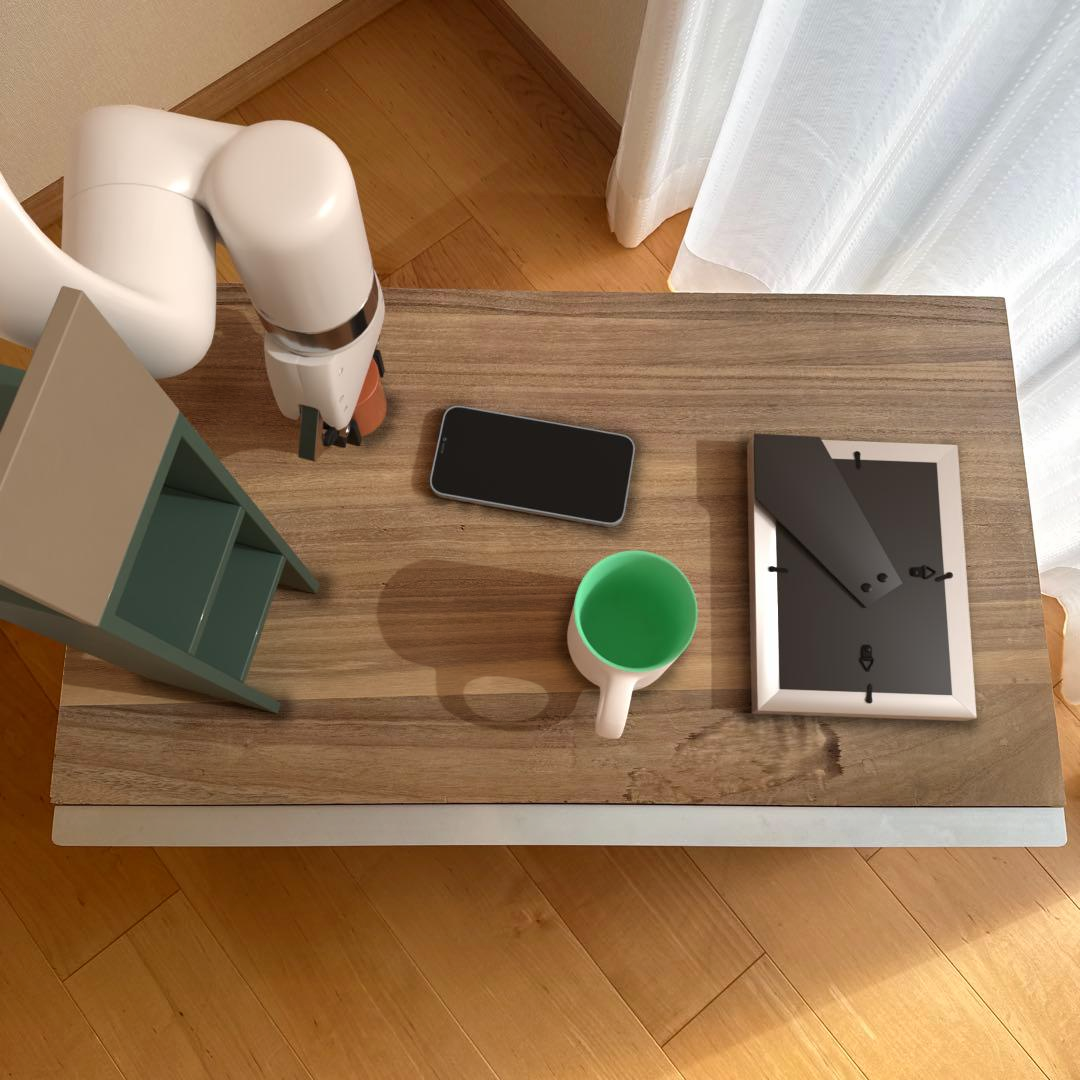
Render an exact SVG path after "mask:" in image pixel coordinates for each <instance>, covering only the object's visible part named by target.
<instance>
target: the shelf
mask: <svg viewBox="0 0 1080 1080" xmlns="http://www.w3.org/2000/svg"><path fill="white" fill-rule="evenodd" d="M27 365H28V366H27V368H26V369H22V368H18V367H14V366H10V365H6V364H2V363H0V619H1V620H4V621H6V622H9V623H11V624H13V625H16V626H18V627H21V628H23V629H26V630H29V631H31V632H32V633H36V634H38V635H40V636H43V637H46V638H48V639H50V640H53V641H55V642H58V643H60V644H63V645H64V646H67V647H69V648H72V649H75V650H77V651H79V652H82V653H83V654H87V655H90V656H92V657H94V658H97V659H99V660H101V661H103V662H107V663H109V664H112V665H114V666H117V667H118V668H121V669H124V670H126V671H129V672H131V673H134V674H136V675H139V676H141V677H143V678H146V679H148V680H152V681H156V682H160V683H163V684H167V685H170V686H174V687H177V688H182V689H185V690H188V691H192V692H196V693H200V694H203V695H208V696H211V697H214V698H218V699H222V700H225V701H229V702H232V703H235V704H240V705H244V706H246V707H247V706H248V707H251V708H254V709H259V710H262V711H265V712H270V713H271V714H272V713H273V714H276V715H277V714H279V711H280V708H281V705H282V703H281V702H280V701H277V700H275V699H274V698H272V697H270V696H268V695H266V694H264V693H262V692H260V691H259V690H257V689H255V688H253V687H252V686H249V685H248V684H245V683H246V680H247V677H248V674H249V671H250V668H251V665H252V662H253V659H254V656H255V653H256V651H257V648H258V645H259V642H260V639H261V635H262V633H263V630H264V627H265V624H266V621H267V618H268V616H269V612H270V609H271V606H272V603H273V600H274V597H275V594H276V591H277V588H278V585H282V586H286V587H289V588H292V589H293V588H294V589H297V590H300V591H304V592H308V593H310V594H311V593H313V594H318V592H319V589H320V586H321V584H320V582H319V581H318V580H317V579H316V578H315V576H314V574H312V572H310V570H309V569H308V568H307V566H306V565H305V564H304V562H302V560H301V559H300V558H299V556H298V555H297V554H296V553H295V552H294V551H293V549H292V548H291V547H290V545H289V544H288V543H287V542H286V540H285V539H284V537H282V535H281V534H280V532H278V531H277V529H276V528H275V527H274V526H273V524H272V523H271V521H269V519H268V517H266V515H265V514H264V513H263V512H262V511H261V509H260V508H259V506H257V505H256V503H255V502H254V501H253V499H252V498H251V497H250V496H249V495H248V493H247V492H246V491H245V490H244V488H243V487H242V486H241V485H240V483H239V482H238V481H237V480H236V478H235V477H234V476H233V475H232V473H231V472H230V471H229V470H228V469H227V467H226V466H225V465H224V463H222V461H221V460H220V459H219V457H218V456H217V455H216V454H215V452H214V451H213V450H212V448H211V447H210V446H209V445H208V443H206V441H205V440H204V439H203V437H202V436H201V435H200V434H199V432H198V431H197V430H196V429H195V427H194V426H193V425H192V424H191V422H190V421H189V420H188V419H187V418H186V417H185V415H184V414H183V413H182V412H181V411H180V409H179V408H178V406H176V404H175V403H174V402H173V400H172V399H171V398H170V396H169V395H168V394H167V393H166V392H165V391H164V389H163V388H162V387H161V385H160V384H159V383H158V382H157V381H156V379H154V378H153V377H152V376H151V375H150V373H149V372H148V371H147V370H146V368H145V367H144V366H143V365H142V363H141V362H140V361H139V360H138V359H137V357H136V356H135V355H134V354H133V352H132V351H131V350H130V349H129V347H128V346H127V345H126V344H125V342H124V341H123V340H122V339H121V337H120V336H119V335H118V334H117V333H116V331H115V330H114V329H113V328H112V326H111V325H110V324H109V323H108V321H107V320H106V319H105V318H104V316H103V315H102V314H101V313H100V311H99V310H98V309H97V308H96V307H95V305H94V304H93V303H92V302H91V300H90V299H89V298H88V297H87V295H86V294H85V293H84V292H83V291H82V290H78V289H74V288H70V287H66V286H62V287H61V290H60V292H59V294H58V297H57V299H56V301H55V304H54V306H53V308H52V311H51V313H50V316H49V318H48V320H47V323H46V325H45V327H44V330H43V332H42V335H41V337H40V339H39V342H38V344H37V346H36V349H35V351H34V350H33V354H32V356H31V359H30V361H29V363H28V364H27Z"/></svg>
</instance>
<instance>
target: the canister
mask: <svg viewBox="0 0 1080 1080" xmlns="http://www.w3.org/2000/svg"><path fill="white" fill-rule="evenodd" d="M381 378H382V377H381ZM381 378H380V375H379V371H378V367H377V364H376V362H375V360H374V359H373V357H372V360H371V363H370V366H369V369H368V372H367V375H366V378H365V381H364V383H363V386H362V389H361V392H360V395H359V398H358V401H357V404H356V407H355V409H354V412H353V415H352V417H351V419H354V420H356V422H357V425H358V428H359V431H360V434H361V437H364V436H367V435H369V434H371V433H372V432H374V431H375V430H376V429H378V427H380V426H381V424H382V423H383V421H384V419H385V417H386V415H387V408H388V403H387V398H386V393H385V390H384V387H383V382H382V379H381Z"/></svg>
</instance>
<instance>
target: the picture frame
mask: <svg viewBox="0 0 1080 1080" xmlns="http://www.w3.org/2000/svg"><path fill="white" fill-rule="evenodd" d="M958 446H959V445H958V444H947V443H945V444H944V443H918V442H893V441H869V440H868V441H867V440H845V439H844V440H841V439H840V440H839V439H822V438H821V437H820V436H811V435H810V436H809V435H793V434H770V433H754V434H753V436H752V437H751V438H750V440H749V442H748V443H747V445H746V468H747V470H746V471H747V473H746V475H747V521H748V522H747V523H748V524H747V525H748V527H747V528H748V529H747V530H748V577H749V578H748V579H749V580H748V581H749V582H748V583H749V585H748V586H749V589H748V590H749V635H750V636H749V641H750V643H749V644H750V691H751V692H750V694H751V695H750V696H751V697H750V699H751V703H750V704H751V714H752V715H753V714H754V715H780V716H782V715H783V716H784V715H785V716H809V717H836V718H837V717H838V718H839V717H840V718H868V719H870V718H871V719H893V720H897V719H898V720H924V721H925V720H926V721H951V722H952V721H953V722H956V721H957V722H967V721H971V720H975V719H978V715H977V704H976V703H977V702H976V688H975V675H974V660H973V645H972V631H971V616H970V601H969V589H968V588H969V587H968V576H967V561H966V546H965V532H964V531H965V530H964V517H963V503H962V501H963V500H962V489H961V474H960V473H961V472H960V460H959V459H960V458H959V447H958Z"/></svg>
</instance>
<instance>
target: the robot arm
mask: <svg viewBox="0 0 1080 1080" xmlns="http://www.w3.org/2000/svg"><path fill="white" fill-rule="evenodd" d="M63 164H64V165H63V191H62V192H63V193H62V197H63V198H62V221H61V222H62V223H61V225H62V226H61V247H60V248H59V247H58V246H57V245H56V244H55V243H54V242H53V240H51V239H50V238H49V237H48V236H47V235H46V234H45V233H44V232H43V231H42V230H41V229H40V228H39V226H38V225H37V224H36V223H35V221H34V220H33V219H32V218H31V216H30V215H29V214H28V213H27V212H26V211H25V209H24V207H23V205H22V204H21V203H20V201H19V200H18V199H17V197H16V195H15V194H14V193H13V191H12V189H11V188H10V186H9V184H8V182H7V180H6V179H5V177H4V175H3V174H2V171H1V170H0V339H3V340H5V341H7V342H10V343H13V344H14V345H17V346H20V347H24V348H27V349H28V350H32V351H33V352H34V351H35V349H36V346H37V344H38V342H39V339H40V337H41V335H42V332H43V330H44V327H45V325H46V323H47V320H48V318H49V316H50V313H51V311H52V308H53V306H54V304H55V301H56V299H57V297H58V294H59V292H60V290H61V287H62V286H66V287H70V288H74V289H78V290H82V291H83V292H84V293H85V294H86V295H87V297H88V298H89V299H90V300H91V302H92V303H93V304H94V305H95V307H96V308H97V309H98V310H99V311H100V313H101V314H102V315H103V316H104V318H105V319H106V320H107V321H108V323H109V324H110V325H111V326H112V328H113V329H114V330H115V331H116V333H117V334H118V335H119V336H120V337H121V339H122V340H123V341H124V342H125V344H126V345H127V346H128V347H129V349H130V350H131V351H132V352H133V354H134V355H135V356H136V357H137V359H138V360H139V361H140V362H141V363H142V365H143V366H144V367H145V368H146V370H147V371H148V372H149V373H150V375H151V376H152V377H153V378H154V380H163V379H169V378H172V377H176V376H179V375H181V374H184V373H186V372H188V371H190V370H191V369H193V368H194V367H195V366H197V364H199V363H200V362H201V361H202V360H203V359H204V358H205V356H206V354H207V352H208V351H209V349H210V347H211V345H212V342H213V339H214V334H215V329H216V319H217V317H216V315H217V244H219V245H221V246H223V248H225V249H226V251H227V253H228V255H229V257H230V260H231V261H232V264H233V266H234V268H235V271H236V273H237V274H238V278H239V279H240V281H241V283H242V285H243V288H244V289H245V291H246V293H247V295H248V297H249V300H250V302H251V305H252V306H253V309H254V311H255V313H256V316H257V317H258V319H259V322H260V324H261V326H262V328H263V330H264V331H265V335H264V339H263V340H264V341H263V350H264V351H263V352H264V362H265V369H266V372H267V378H268V381H269V385H270V387H271V391H272V394H273V396H274V399H275V402H276V404H277V406H278V408H279V411H280V413H281V414H282V415H283V416H284V417H286V418H288V419H291V420H294V421H297V420H298V419H299V418H300V426H299V427H300V428H299V441H298V454H297V455H298V458H299V459H302V460H306V461H310V462H313V463H318V460H319V459H320V457H321V456H322V455H323V453H324V452H325V447H326V448H330V447H332V446H333V447H337V448H341V449H342V448H343V449H345V448H346V447H347V444H348V445H352V446H355V447H361V444H362V440H363V436H361V434H360V431H359V428H358V425H357V422H356V420H354V419H351V417H352V415H353V412H354V409H355V407H356V404H357V401H358V398H359V395H360V392H361V389H362V386H363V383H364V381H365V378H366V375H367V372H368V369H369V366H370V363H371V360H372V357H373V359H374V360H375V362H376V364H377V367H378V371H379V375H380V378H383V377H384V375H385V372H386V369H385V365H384V361H383V356H382V352H381V350H380V349H378V347H379V344H380V340H381V331H382V328H383V324H384V320H385V315H386V305H385V299H384V298H385V297H384V294H383V291H382V290H383V289H382V287H381V283H380V280H379V279H380V275H379V274H378V273H377V272H376V270H375V268H374V264H373V259H372V258H373V257H372V255H371V250H370V246H369V241H368V237H367V232H366V227H365V223H364V219H363V218H364V217H363V213H362V209H361V204H360V200H359V195H358V190H357V186H356V181H355V178H354V175H353V171H352V169H351V165H350V164H349V161H348V159H347V157H346V156H345V154H344V153H343V151H342V150H341V149H340V147H338V145H337V144H336V143H335V141H333V140H332V139H331V138H329V137H328V136H327V135H326V134H325V133H324V132H322V131H320V130H319V129H317V128H316V127H313V126H311V125H308V124H305V123H304V122H303V123H302V122H298V121H294V120H285V119H284V120H283V119H272V120H264V121H261V122H256V123H253V124H250V125H247V126H246V125H241V124H240V125H239V124H234V123H228V122H221V121H216V120H210V119H205V118H202V117H196V116H191V115H187V114H181V113H178V112H173V111H167V110H163V109H158V108H152V107H146V106H142V105H136V104H106V105H101V106H95V107H93V108H90V109H88V110H86V111H84V112H82V113H81V114H80V115H78V117H76V119H75V120H74V121H73V123H72V124H71V126H70V128H69V130H68V133H67V135H66V141H65V148H64V163H63Z"/></svg>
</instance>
